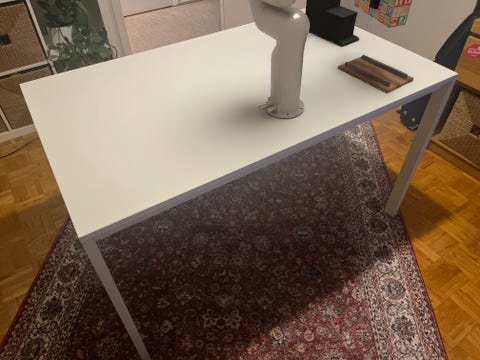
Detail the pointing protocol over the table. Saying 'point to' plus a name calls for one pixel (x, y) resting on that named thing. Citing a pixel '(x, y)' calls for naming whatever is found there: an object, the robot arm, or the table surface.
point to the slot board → (376, 73)
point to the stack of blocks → (387, 11)
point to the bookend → (331, 21)
